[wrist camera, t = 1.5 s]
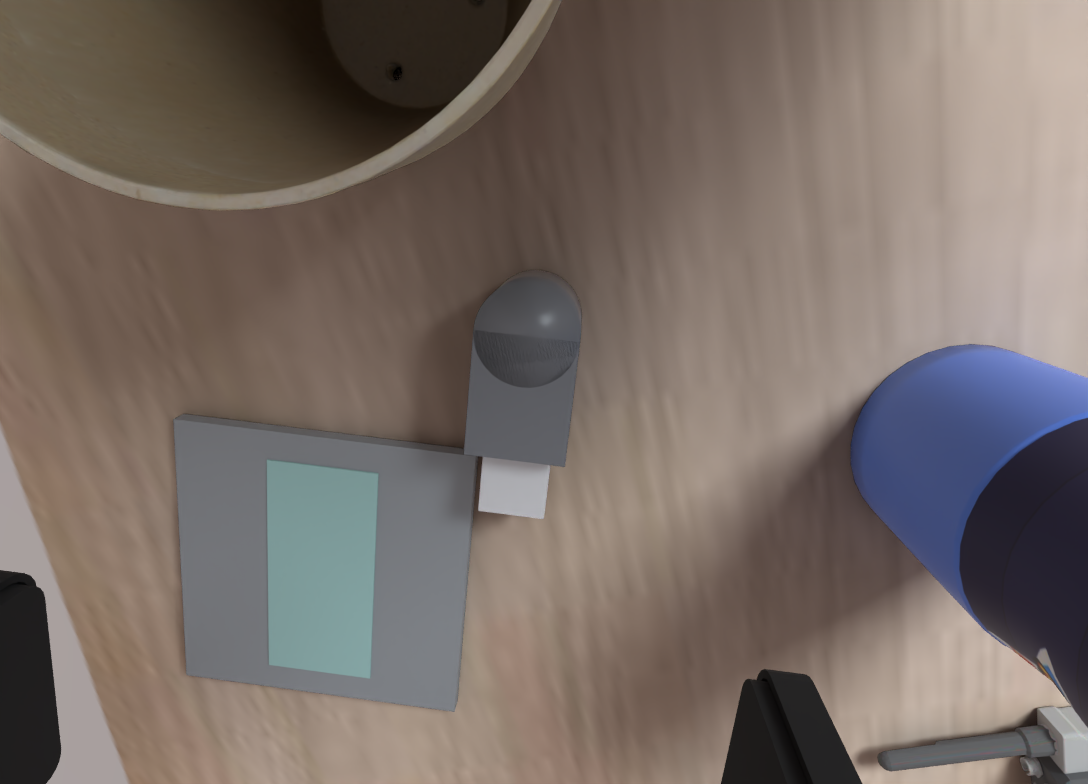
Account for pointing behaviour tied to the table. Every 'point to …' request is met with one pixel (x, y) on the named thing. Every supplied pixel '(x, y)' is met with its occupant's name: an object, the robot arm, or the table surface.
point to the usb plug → (522, 389)
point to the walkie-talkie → (1013, 749)
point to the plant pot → (253, 89)
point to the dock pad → (323, 560)
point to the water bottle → (990, 494)
